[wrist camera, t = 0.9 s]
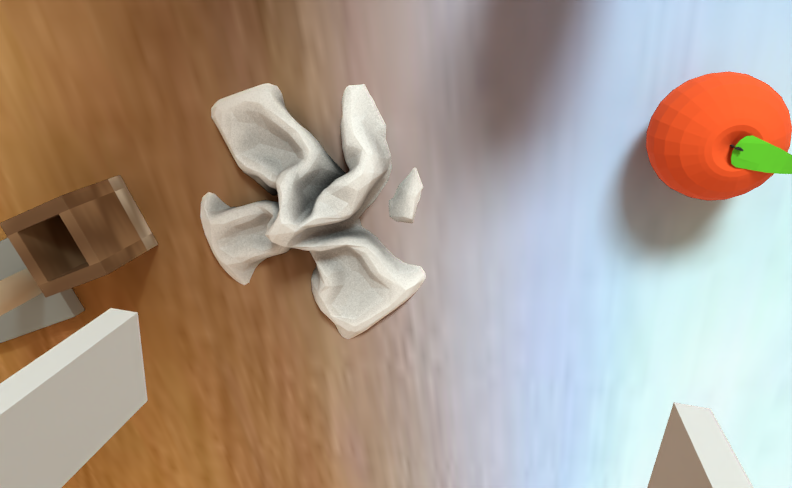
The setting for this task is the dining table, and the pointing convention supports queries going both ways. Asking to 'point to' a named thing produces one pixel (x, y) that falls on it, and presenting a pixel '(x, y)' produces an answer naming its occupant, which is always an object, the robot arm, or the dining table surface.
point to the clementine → (719, 136)
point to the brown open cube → (80, 235)
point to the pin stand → (28, 298)
